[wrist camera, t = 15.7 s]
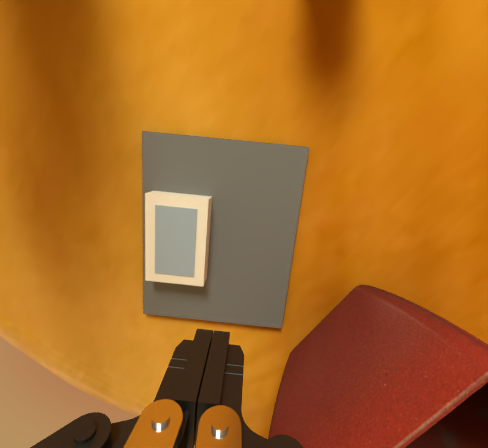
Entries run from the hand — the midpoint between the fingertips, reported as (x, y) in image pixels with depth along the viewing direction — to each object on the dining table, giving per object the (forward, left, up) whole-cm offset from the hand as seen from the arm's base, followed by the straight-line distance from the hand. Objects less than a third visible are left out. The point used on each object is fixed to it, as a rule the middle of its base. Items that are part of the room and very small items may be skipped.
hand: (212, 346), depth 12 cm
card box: (0, -3, -15) cm, 15 cm away
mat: (0, -2, -17) cm, 17 cm away
